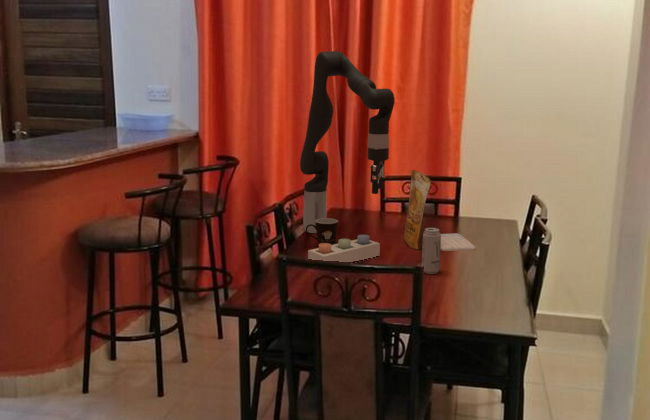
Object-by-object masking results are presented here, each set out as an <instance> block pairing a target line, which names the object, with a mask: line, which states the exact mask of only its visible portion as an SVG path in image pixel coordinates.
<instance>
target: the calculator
mask: <svg viewBox="0 0 650 420" xmlns="http://www.w3.org/2000/svg"><path fill="white" fill-rule="evenodd" d="M440 234H441V246H440V251H442V252H456V251H457V252H458V251H459V252H460V251H476V246H475V245H474V244H472V242H470V241H469V240H467V239H466V238H465V237H464V236H463V235H462V234H460V233H440Z"/></svg>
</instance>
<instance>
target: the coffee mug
mask: <svg viewBox="0 0 650 420" xmlns="http://www.w3.org/2000/svg"><path fill="white" fill-rule="evenodd" d="M315 222H316V226H315V225H312V224H310V225H308V226H307V227H306V231H305V233H306V234H308V236H310V237H312V238H313V239H315V240H316V241H317V246H319V244H320V243H329V244H331V245H334V244H336V239H337V233H338V232H337V231H338V222H339V220H338V219H335V218H330V217H328V218H322V219H317V220H316V221H315ZM309 226H313V227H314V228H315V229H316V231H317V233H316V236H314V235H312V233H309V232H308V231H307V228H308V227H309Z"/></svg>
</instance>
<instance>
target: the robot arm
mask: <svg viewBox="0 0 650 420" xmlns="http://www.w3.org/2000/svg"><path fill="white" fill-rule="evenodd" d="M313 73H314V74H313V87H312V96H311V100H310V101H311V103H310V106H309V112H308V119H307V126H306V127H307V129H306V134H305V138H304V143H303V146H302V150H301V151H302V152H301V155H300V159H299V167H300V171H301V173H302V174H303V175H306V176H311V175H314V177H313V178H311V179H310V180H307V182H305V183H304V187H303V188H304V191H303V192H304V194H303V196H304V198H303V199H304V202H303V203H304V205H303V208H302V214H303V215H302V220H303V222H302V223H303V224H302V229H303V230H304V232H306V227H307V226H308V225H310V224H312V225H315V226H316V222H315V221H316V220H317V219H322V218H327V211H328V209H327V206H328V205H327V202H328V201H327V195H328V194H327V193H328V191H327V190H328V189H327V187H328V183H329V167H330V166H329V165H330V163H329V162H330V161H329V157H328V154H327V153H326V151H322V150H321V151H320V150H318V151H316V148H317V146H318V144H319V142H320V141H321V140H322V138H323V137H324V136H326V134H327V132H328V131H329V129H330V127H331V125H332V122H333V116H334V106H333V102H332V100H331V98H330V95H329V93H328V89H327V86H328V85H327V84H328V78H329V77H337V76H340V77H343V78H346V83H347V85H348V88H349V89H350V90H351V91H352V92H353V93H354V94H355V95H357V97H359V98H360V100H361V101H362V103H363V105H364V106H365V107H366V108H368V109H369V110H375V111H376V110H378V111H377V114H376V115H373V116H371V117H369V120H368V136H367V160H369V161H372V162H373V163H372V165H370V183H371V194H373V195H377V194H379V190H383V186H384V177H385V175H386V173H385V172H386V171H385V168H386V165H385V162H386V161H388V160H389V158H390V134H389V133H390V121H391V120H390V119H391V117H392V113H393V110H394V106H395V95H394V92H393V91H392V89H390V88H377V86H376V83H375V82H374V81H373V80H371V79H370V78H369V77H367V76H366V75H364V74H363V73H362V72H360V70H359V69H357V67H356V66H355V64H353V62H351V60H350V59H349V58H348V57H347V55H346V54H344V53H343V52H341V51H339V50H334V51H333V50H332V51H325V50H324V51H320V52H319V53H318V54H317V55H316V57H315V61H314V72H313ZM307 231H308V232H309V234H317V231H316V229H315V228H314V227H313V226H309V227H308V228H307Z"/></svg>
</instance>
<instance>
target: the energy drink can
mask: <svg viewBox="0 0 650 420" xmlns="http://www.w3.org/2000/svg"><path fill="white" fill-rule="evenodd" d="M441 234H442V233H441V232H440V229H439V228H437V227H426V228H424V230H423V235H422V248H421V249H422V250H421V266H422V265H423V266H424V272H423V273H424V274H427V275H436V274H438V273H439V271H440V263H441V250H440V246H441Z"/></svg>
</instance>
